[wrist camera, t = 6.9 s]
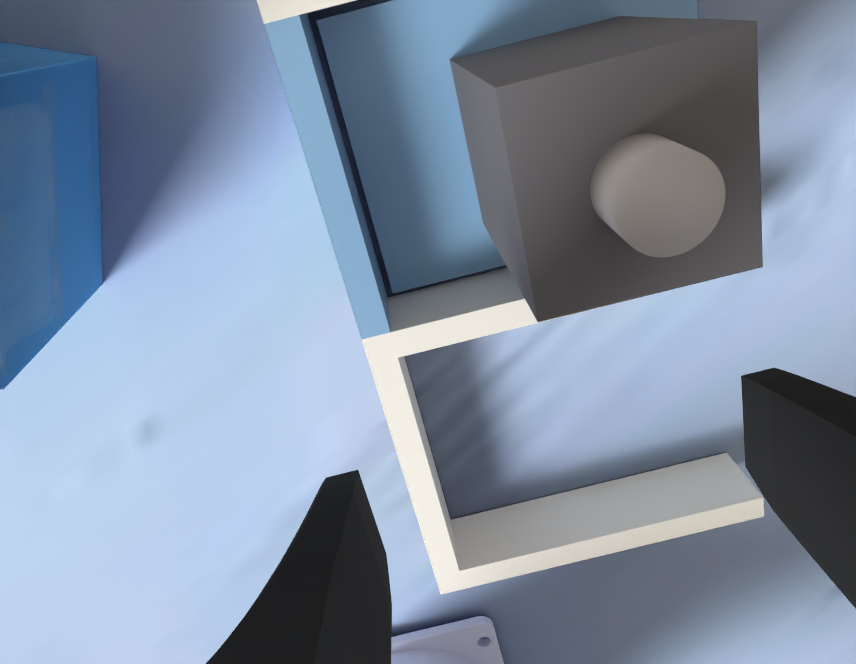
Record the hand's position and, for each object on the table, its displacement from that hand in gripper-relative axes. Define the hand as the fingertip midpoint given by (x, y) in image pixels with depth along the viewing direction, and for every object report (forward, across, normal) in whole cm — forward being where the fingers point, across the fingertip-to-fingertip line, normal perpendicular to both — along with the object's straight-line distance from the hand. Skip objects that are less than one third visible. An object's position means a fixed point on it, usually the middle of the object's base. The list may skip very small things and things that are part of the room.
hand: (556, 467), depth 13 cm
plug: (+9, -3, -4) cm, 10 cm away
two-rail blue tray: (+9, -3, 0) cm, 10 cm away
